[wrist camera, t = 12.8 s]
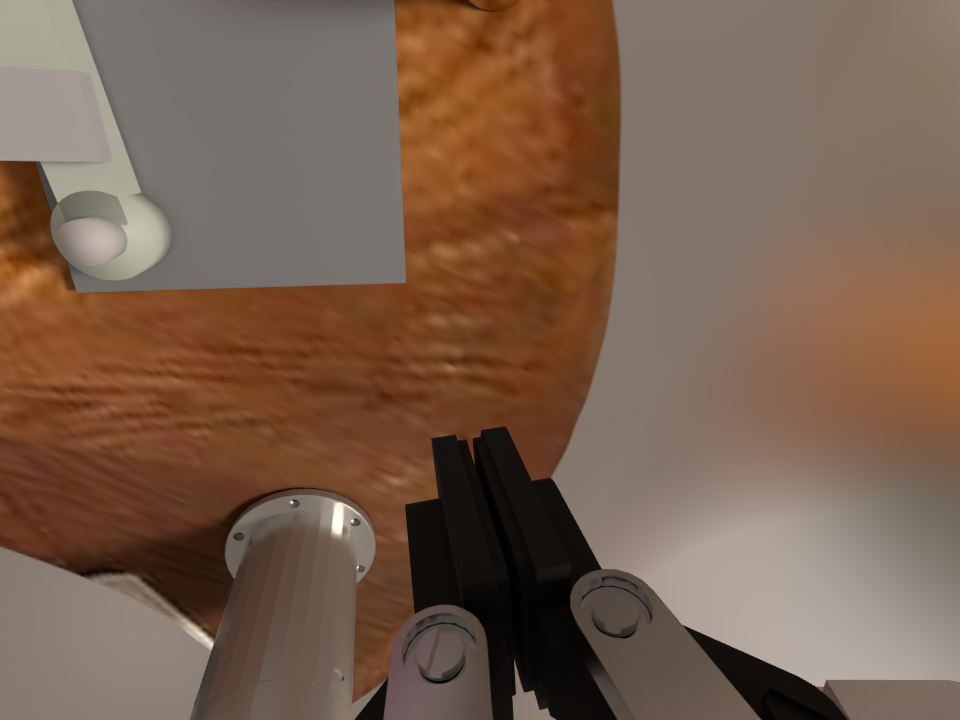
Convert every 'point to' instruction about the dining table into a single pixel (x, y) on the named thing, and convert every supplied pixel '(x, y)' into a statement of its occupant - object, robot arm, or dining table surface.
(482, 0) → the beer glass
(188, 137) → the board
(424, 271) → the dining table surface
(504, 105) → the dining table surface
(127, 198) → the link
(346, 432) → the dining table surface
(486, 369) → the dining table surface
